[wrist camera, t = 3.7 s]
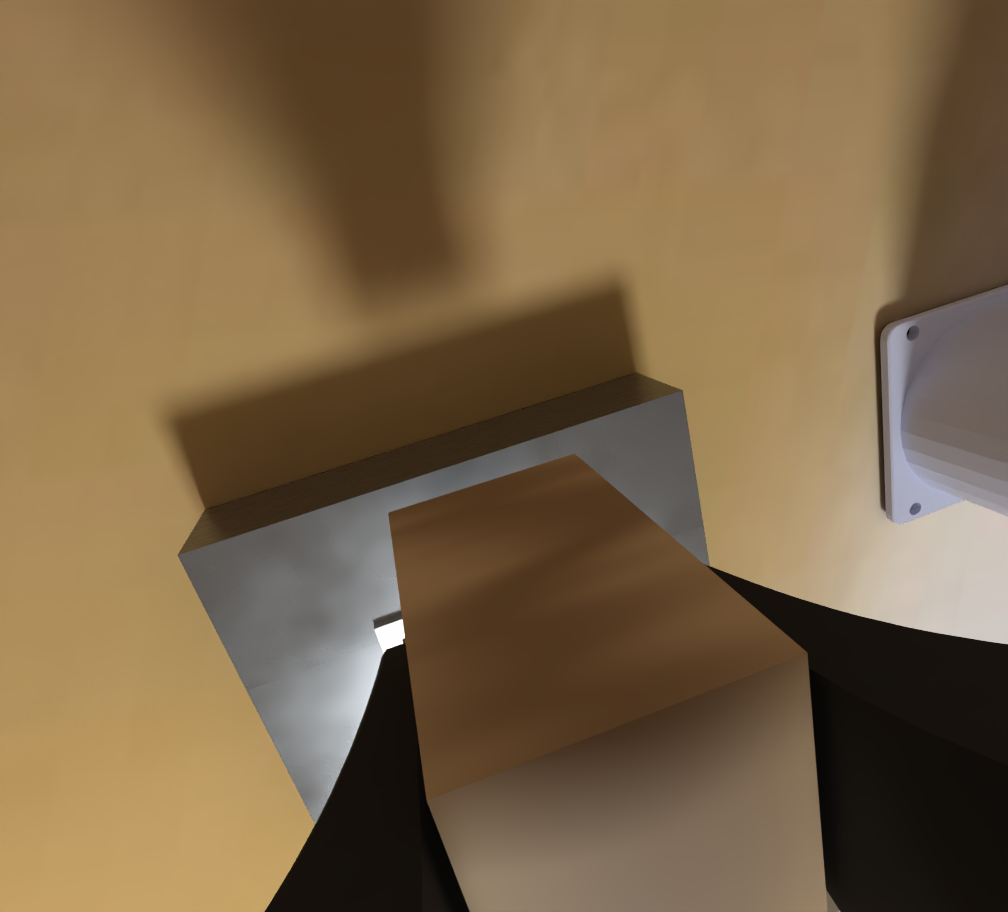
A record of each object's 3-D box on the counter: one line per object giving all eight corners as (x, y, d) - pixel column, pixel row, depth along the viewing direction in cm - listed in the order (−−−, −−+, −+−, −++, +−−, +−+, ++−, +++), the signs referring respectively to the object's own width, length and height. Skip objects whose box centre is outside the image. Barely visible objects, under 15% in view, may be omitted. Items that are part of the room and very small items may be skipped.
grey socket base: (636, 372, 20) (686, 392, 17) (695, 700, 25) (741, 760, 22) (205, 510, 18) (175, 558, 15) (360, 835, 23) (361, 921, 20)
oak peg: (574, 453, 13) (806, 651, 6) (608, 611, 14) (827, 909, 8) (387, 512, 12) (426, 800, 6) (441, 671, 13) (523, 1050, 7)
